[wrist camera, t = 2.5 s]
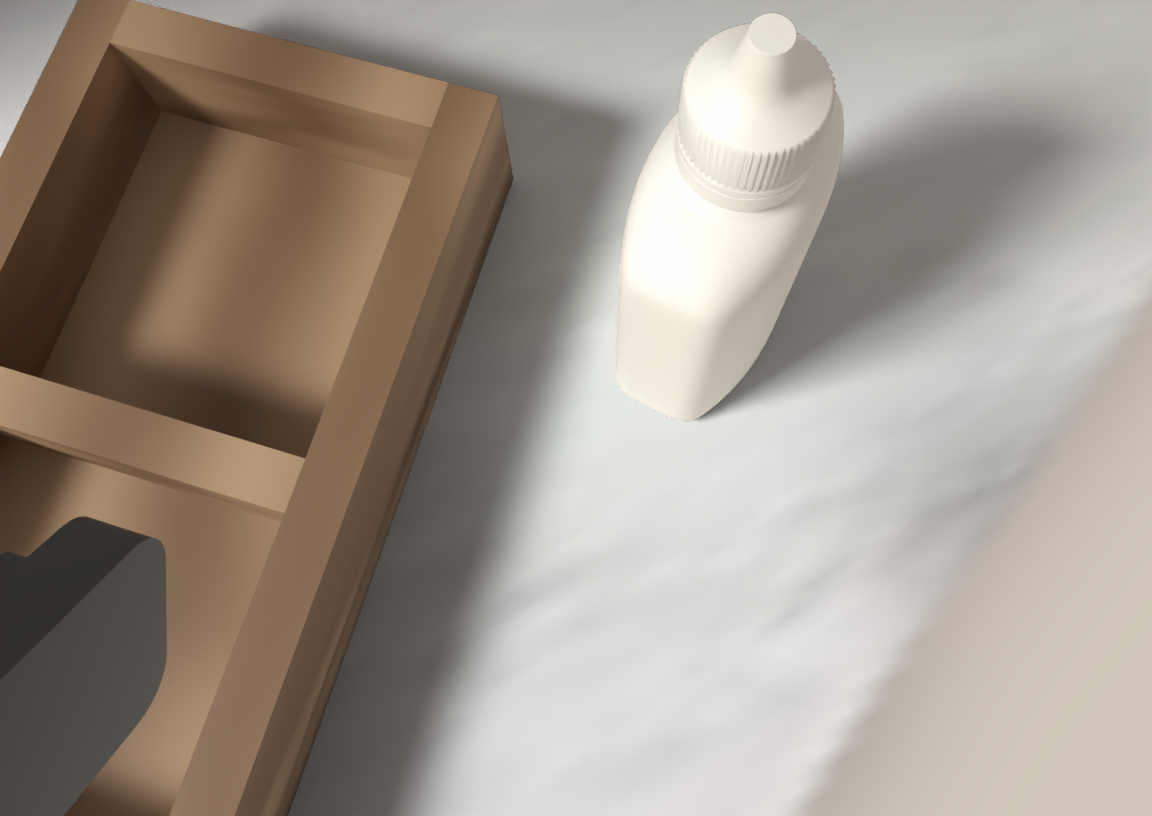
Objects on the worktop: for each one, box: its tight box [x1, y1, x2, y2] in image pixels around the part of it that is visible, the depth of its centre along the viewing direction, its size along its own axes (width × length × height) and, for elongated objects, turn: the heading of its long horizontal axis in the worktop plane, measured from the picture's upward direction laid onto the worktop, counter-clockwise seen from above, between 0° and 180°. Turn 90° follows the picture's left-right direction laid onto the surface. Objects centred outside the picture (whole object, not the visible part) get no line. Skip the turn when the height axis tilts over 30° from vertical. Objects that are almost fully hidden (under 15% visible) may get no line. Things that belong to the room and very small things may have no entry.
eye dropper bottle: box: [616, 13, 844, 422], centre depth 21 cm, size 4×6×12 cm
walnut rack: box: [0, 0, 513, 816], centre depth 23 cm, size 11×29×4 cm, turn 163°
